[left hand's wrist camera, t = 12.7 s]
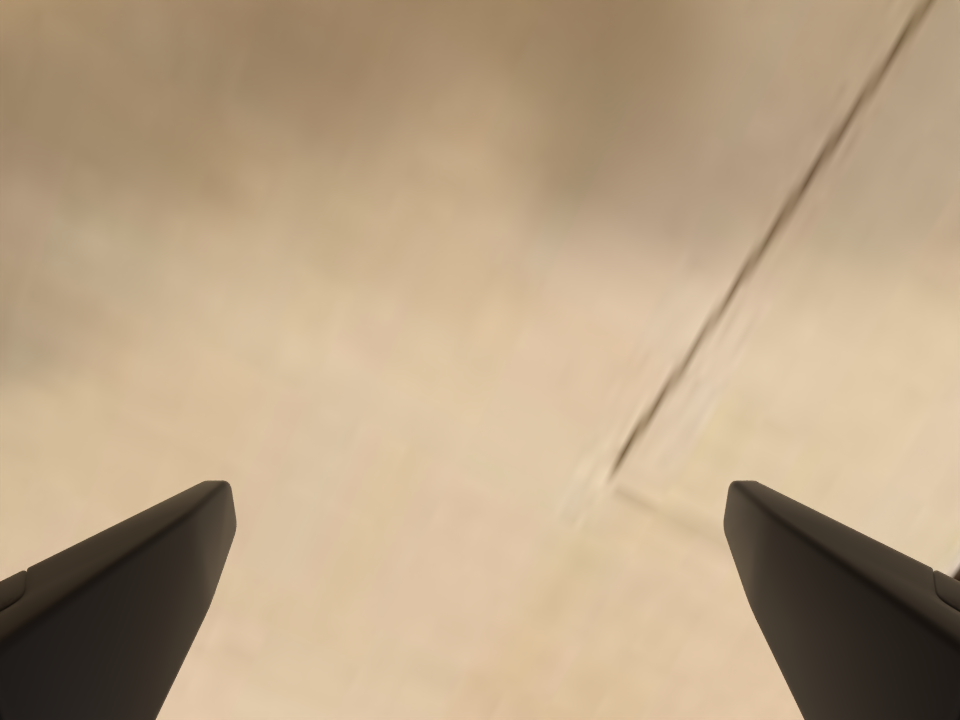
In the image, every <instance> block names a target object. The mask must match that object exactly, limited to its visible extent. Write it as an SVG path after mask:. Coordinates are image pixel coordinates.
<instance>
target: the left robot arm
mask: <svg viewBox="0 0 960 720" xmlns="http://www.w3.org/2000/svg"><path fill="white" fill-rule="evenodd" d="M235 532H236V515H235V509H234V502H233V495H232V489H231V486H230V484H229V483H228V482H227V481H204V482H202V483H200V484H197V485H195V486H193V487H191V488H189V489H187V490H185V491H183V492H181V493H179V494H177V495H175V496H173V497H171V498H169V499H167V500H165V501H163V502H161V503H159V504H157V505H155V506H153V507H151V508H149V509H147V510H145V511H143V512H141V513H139V514H137V515H135V516H133V517H131V518H129V519H126V520H124V521H122V522H120V523H118V524H116V525H114V526H112V527H110V528H108V529H106V530H104V531H102V532H100V533H98V534H96V535H94V536H92V537H90V538H88V539H86V540H84V541H82V542H80V543H78V544H76V545H74V546H72V547H70V548H68V549H66V550H64V551H62V552H60V553H58V554H55V555H53V556H51V557H49V558H47V559H45V560H43V561H41V562H39V563H37V564H35V565H33V566H31V567H29V568H28V569H27V572H26V571H21V572H19V573H17V574H15V575H13V576H11V577H9V578H7V579H5V580H3V581H0V720H156V718H157V716H158V713H159V711H160V709H161V707H162V705H163V703H164V701H165V699H166V697H167V695H168V693H169V691H170V689H171V686H172V684H173V682H174V680H175V678H176V676H177V674H178V672H179V670H180V668H181V666H182V664H183V662H184V659H185V657H186V655H187V653H188V651H189V649H190V647H191V645H192V643H193V641H194V639H195V637H196V635H197V632H198V630H199V628H200V626H201V624H202V622H203V620H204V618H205V616H206V613H207V611H208V609H209V607H210V604H211V602H212V599H213V596H214V594H215V591H216V588H217V585H218V582H219V579H220V576H221V573H222V570H223V567H224V565H225V562H226V559H227V556H228V553H229V550H230V547H231V544H232V541H233V538H234V535H235ZM724 532H725V535H726V538H727V541H728V544H729V547H730V550H731V553H732V556H733V559H734V562H735V565H736V567H737V570H738V573H739V576H740V579H741V582H742V585H743V588H744V591H745V594H746V596H747V599H748V602H749V604H750V607H751V609H752V611H753V613H754V616H755V618H756V620H757V622H758V624H759V626H760V628H761V630H762V632H763V635H764V637H765V639H766V641H767V643H768V645H769V647H770V649H771V651H772V653H773V655H774V657H775V659H776V662H777V664H778V666H779V668H780V670H781V672H782V674H783V676H784V678H785V680H786V682H787V684H788V686H789V689H790V691H791V693H792V695H793V697H794V699H795V701H796V703H797V705H798V707H799V709H800V711H801V713H802V716H803V718H804V720H960V581H957V580H955V579H953V578H951V577H949V576H947V575H945V574H943V573H941V572H939V571H934V572H933V569H932V568H931V567H929V566H927V565H925V564H923V563H921V562H919V561H917V560H915V559H913V558H911V557H909V556H907V555H905V554H902V553H900V552H898V551H896V550H894V549H892V548H890V547H888V546H886V545H884V544H882V543H880V542H878V541H876V540H874V539H872V538H870V537H868V536H866V535H864V534H862V533H860V532H858V531H856V530H854V529H852V528H850V527H848V526H846V525H844V524H842V523H840V522H838V521H836V520H834V519H831V518H829V517H827V516H825V515H823V514H821V513H819V512H817V511H815V510H813V509H811V508H809V507H807V506H805V505H803V504H801V503H799V502H797V501H795V500H793V499H791V498H789V497H787V496H785V495H783V494H781V493H779V492H777V491H775V490H773V489H771V488H769V487H767V486H765V485H763V484H760V483H758V482H756V481H733V482H732V483H731V484H730V486H729V489H728V495H727V502H726V509H725V515H724Z"/></svg>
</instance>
